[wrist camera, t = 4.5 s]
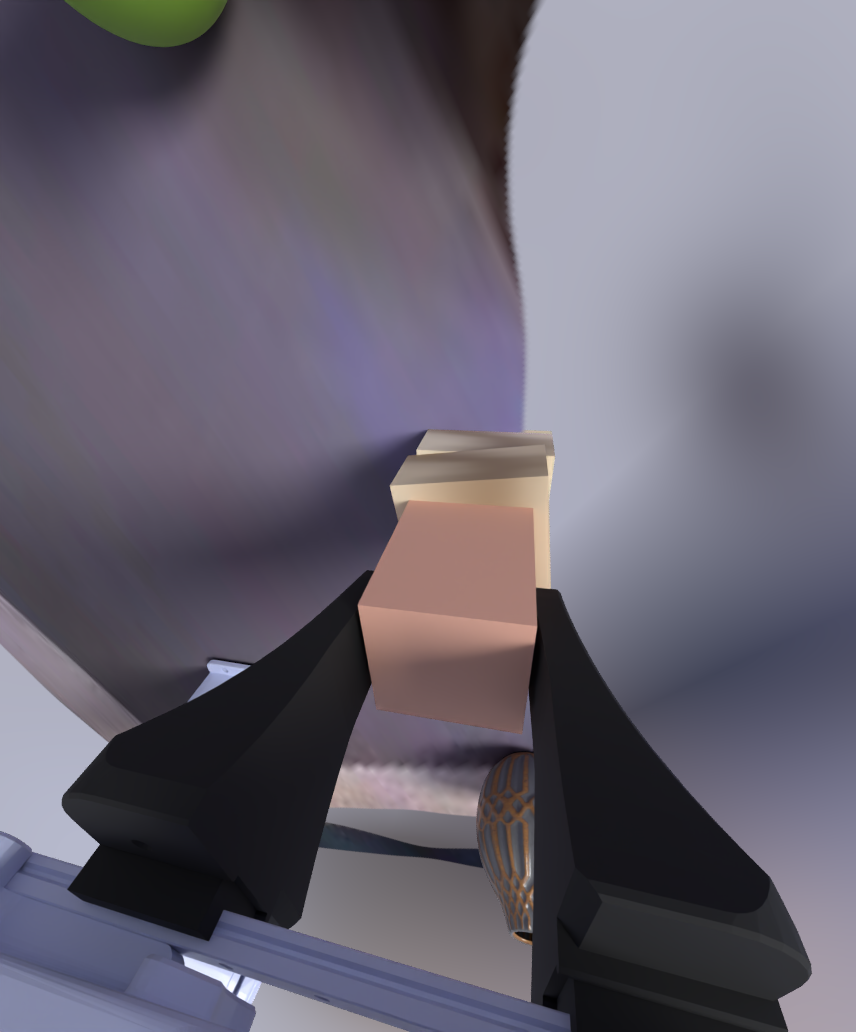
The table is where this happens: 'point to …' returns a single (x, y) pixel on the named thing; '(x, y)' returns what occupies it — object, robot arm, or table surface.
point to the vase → (510, 839)
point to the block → (454, 615)
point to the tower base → (486, 442)
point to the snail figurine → (152, 18)
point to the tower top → (483, 487)
